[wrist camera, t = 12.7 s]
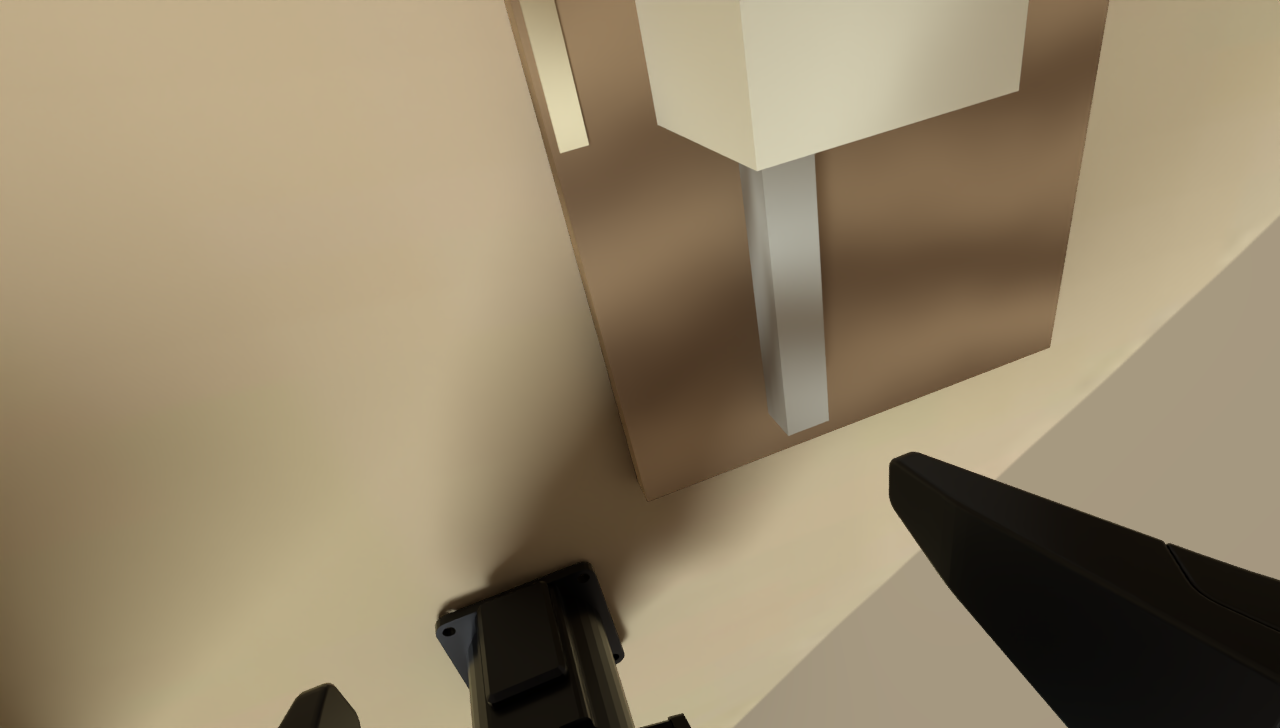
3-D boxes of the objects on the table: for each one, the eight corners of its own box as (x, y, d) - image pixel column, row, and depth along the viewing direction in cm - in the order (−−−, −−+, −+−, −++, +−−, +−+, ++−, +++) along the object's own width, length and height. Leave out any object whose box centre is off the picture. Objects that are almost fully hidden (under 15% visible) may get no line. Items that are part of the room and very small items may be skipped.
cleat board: (1026, 335, 27) (1081, 364, 25) (638, 482, 25) (660, 529, 22) (1154, -543, 15) (1288, -644, 12) (381, -440, 12) (373, -545, 10)
